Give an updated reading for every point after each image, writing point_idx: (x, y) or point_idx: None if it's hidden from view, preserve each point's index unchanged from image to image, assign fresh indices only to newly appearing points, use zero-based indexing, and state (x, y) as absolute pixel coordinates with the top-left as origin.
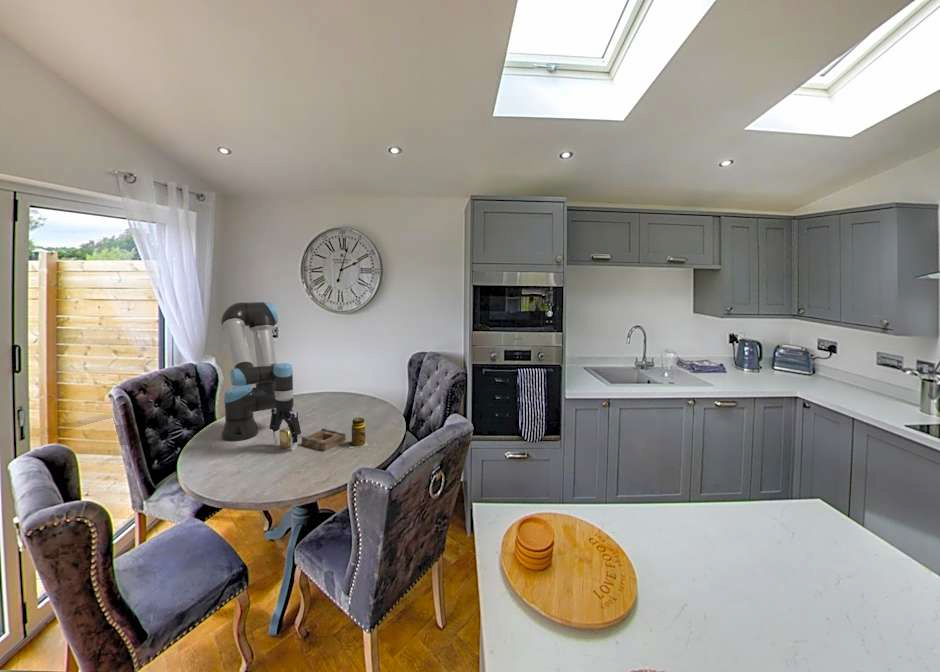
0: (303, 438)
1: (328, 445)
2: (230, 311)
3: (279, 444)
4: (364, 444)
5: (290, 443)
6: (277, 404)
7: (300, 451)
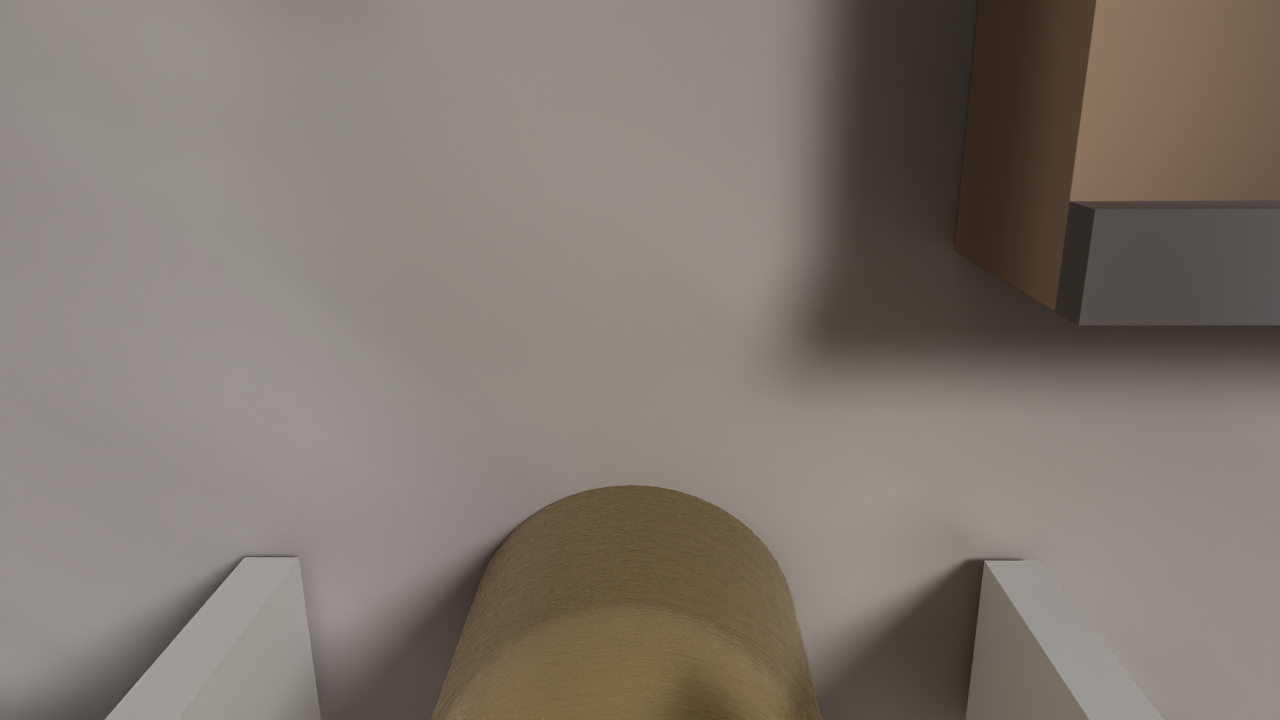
0: (1192, 320)
1: None
2: None
3: (303, 604)
4: None
5: (809, 674)
6: None
7: (1269, 629)
